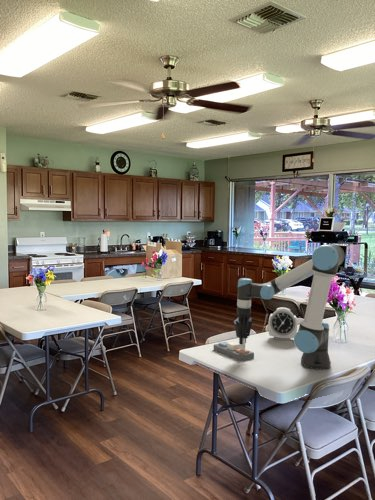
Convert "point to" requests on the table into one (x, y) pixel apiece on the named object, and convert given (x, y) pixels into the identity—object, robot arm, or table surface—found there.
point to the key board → (233, 353)
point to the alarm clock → (282, 324)
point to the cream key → (233, 346)
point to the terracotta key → (242, 351)
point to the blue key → (223, 344)
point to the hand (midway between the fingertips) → (242, 349)
